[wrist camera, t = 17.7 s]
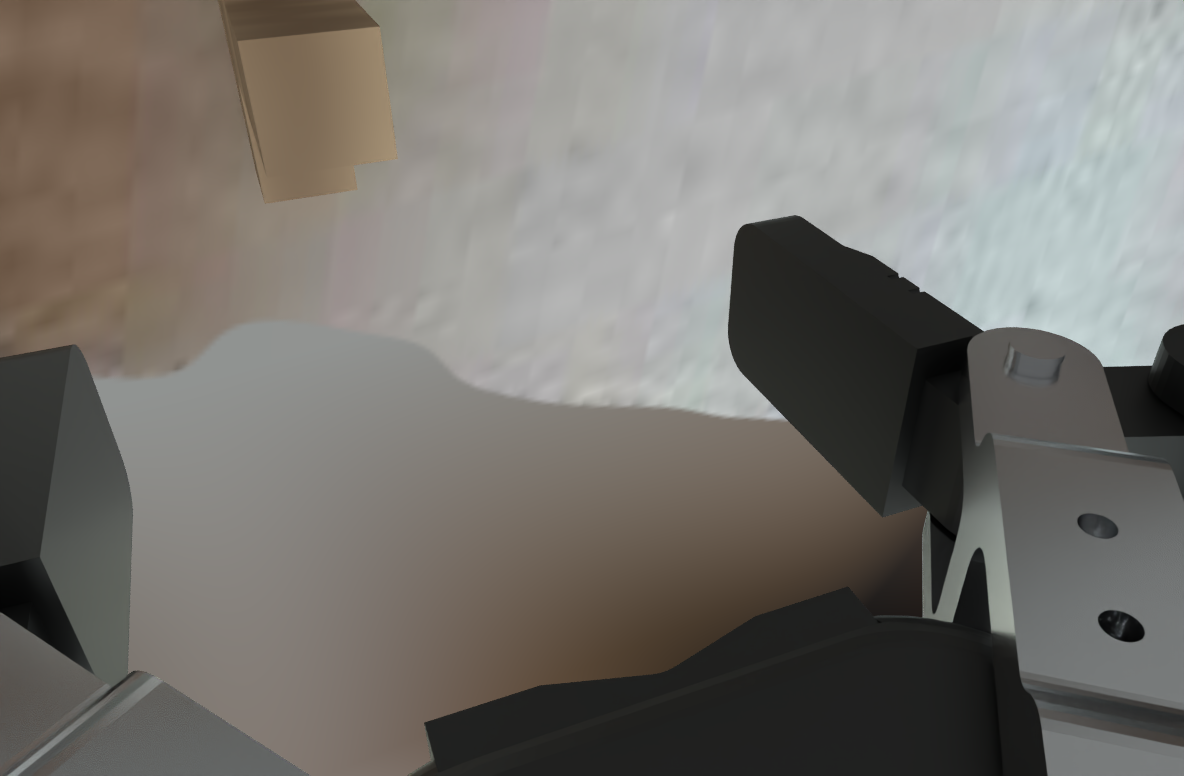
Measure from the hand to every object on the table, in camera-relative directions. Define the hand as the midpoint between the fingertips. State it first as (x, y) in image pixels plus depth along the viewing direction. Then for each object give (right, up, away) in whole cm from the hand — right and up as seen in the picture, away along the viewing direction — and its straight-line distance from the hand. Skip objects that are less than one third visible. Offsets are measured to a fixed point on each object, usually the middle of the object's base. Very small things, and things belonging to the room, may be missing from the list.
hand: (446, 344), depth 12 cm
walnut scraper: (-9, +12, +19) cm, 24 cm away
